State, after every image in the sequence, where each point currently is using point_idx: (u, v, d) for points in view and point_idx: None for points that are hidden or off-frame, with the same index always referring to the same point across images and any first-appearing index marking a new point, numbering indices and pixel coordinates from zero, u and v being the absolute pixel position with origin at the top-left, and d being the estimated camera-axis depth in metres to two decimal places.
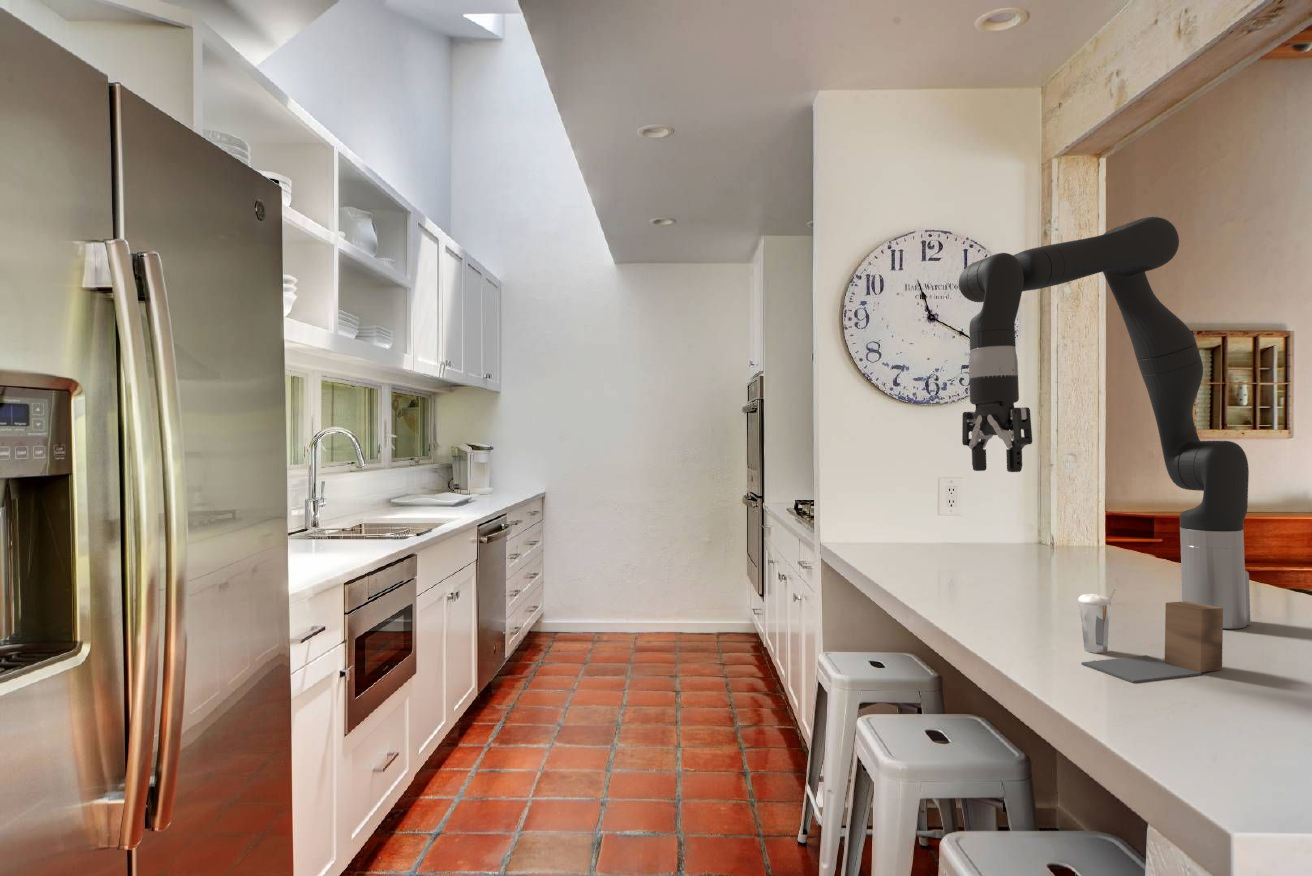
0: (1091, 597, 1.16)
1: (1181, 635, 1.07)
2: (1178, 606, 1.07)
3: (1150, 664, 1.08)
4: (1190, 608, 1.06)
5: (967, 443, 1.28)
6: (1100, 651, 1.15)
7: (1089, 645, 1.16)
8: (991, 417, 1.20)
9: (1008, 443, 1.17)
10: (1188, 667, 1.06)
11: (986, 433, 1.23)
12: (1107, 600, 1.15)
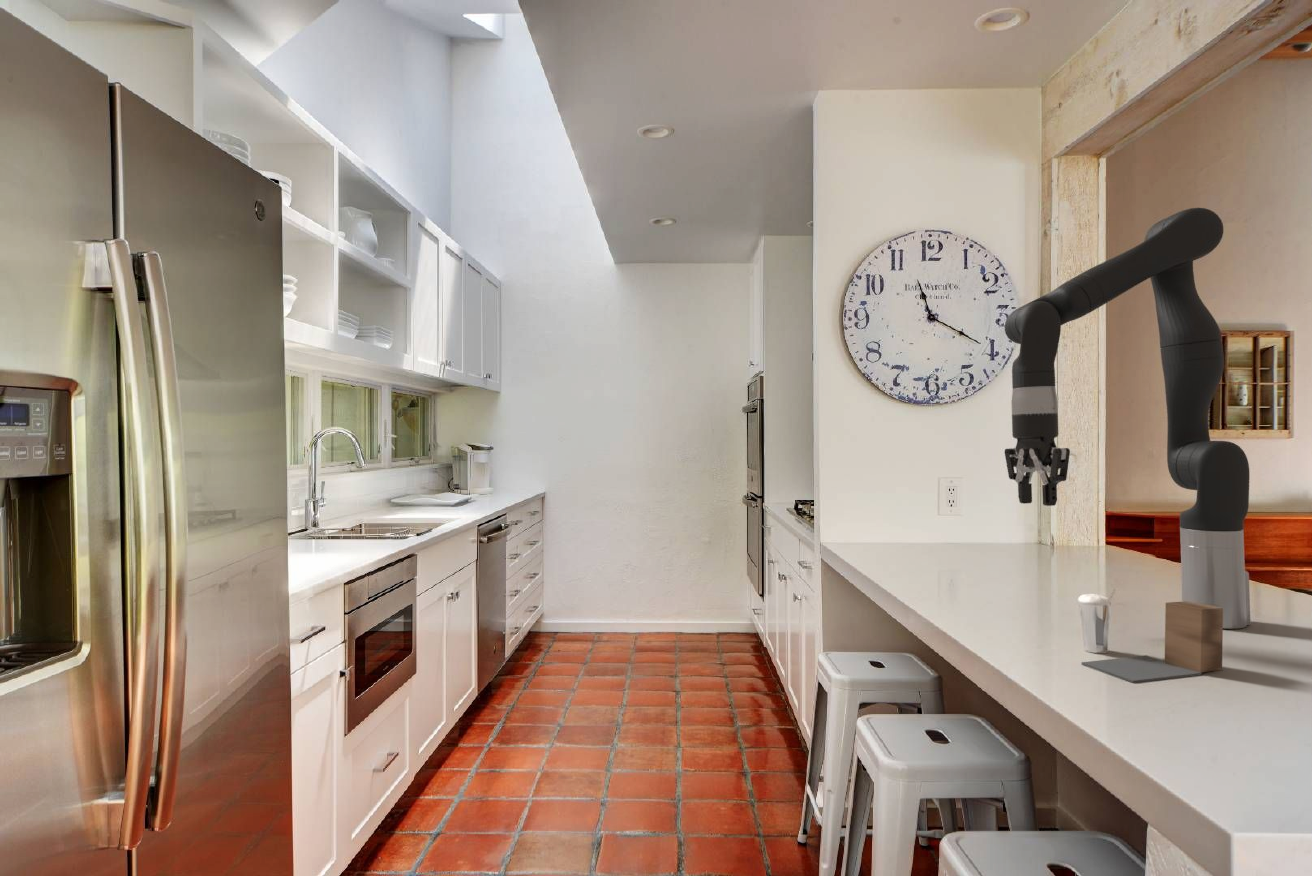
0: (1091, 597, 1.16)
1: (1181, 635, 1.07)
2: (1178, 606, 1.07)
3: (1150, 664, 1.08)
4: (1190, 608, 1.06)
5: (1013, 477, 1.38)
6: (1100, 651, 1.15)
7: (1089, 645, 1.16)
8: (1033, 452, 1.31)
9: (1044, 479, 1.30)
10: (1188, 667, 1.06)
11: (1028, 465, 1.34)
12: (1107, 600, 1.15)
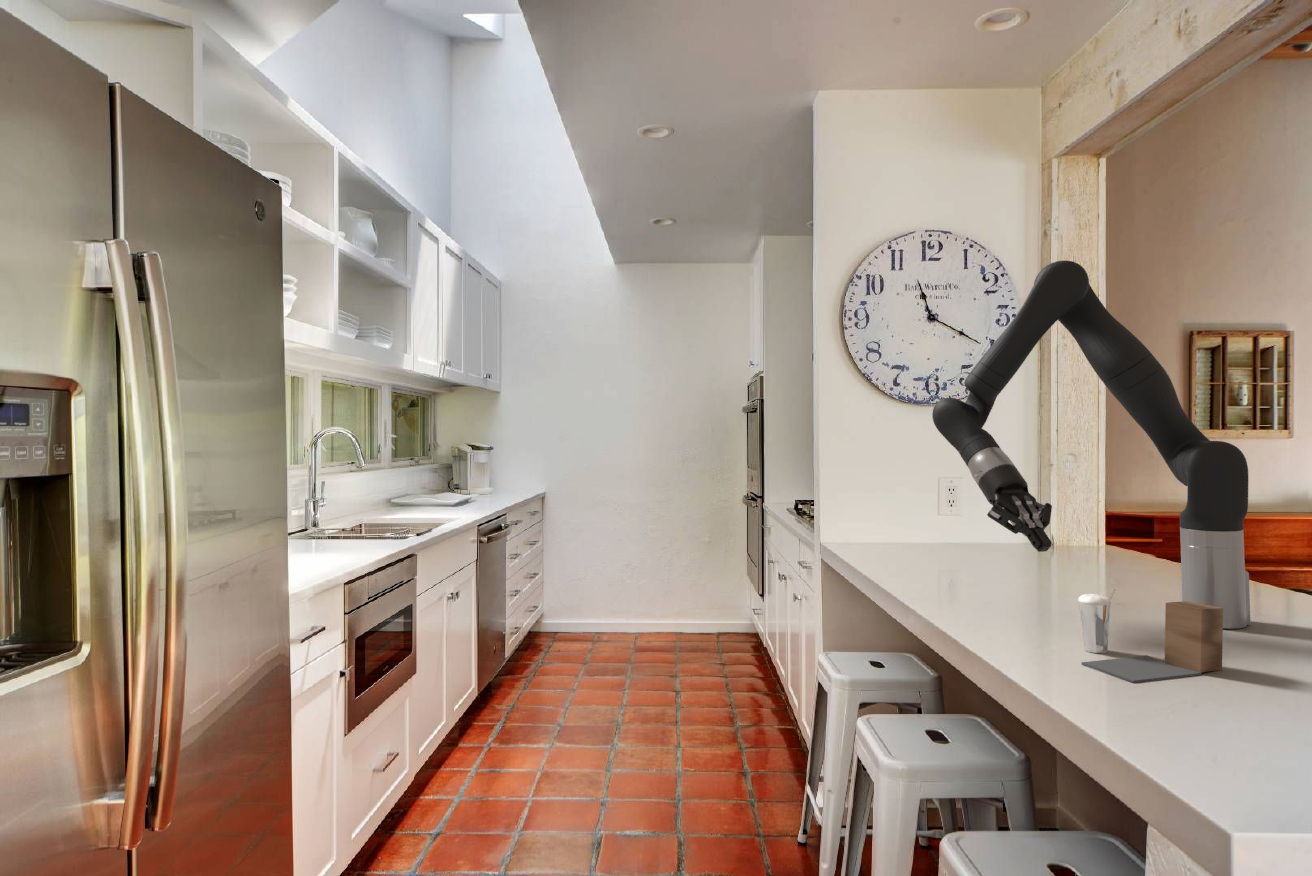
0: (1091, 597, 1.16)
1: (1181, 635, 1.07)
2: (1178, 606, 1.07)
3: (1150, 664, 1.08)
4: (1190, 608, 1.06)
5: None
6: (1100, 651, 1.15)
7: (1089, 645, 1.16)
8: None
9: None
10: (1188, 667, 1.06)
11: None
12: (1107, 600, 1.15)
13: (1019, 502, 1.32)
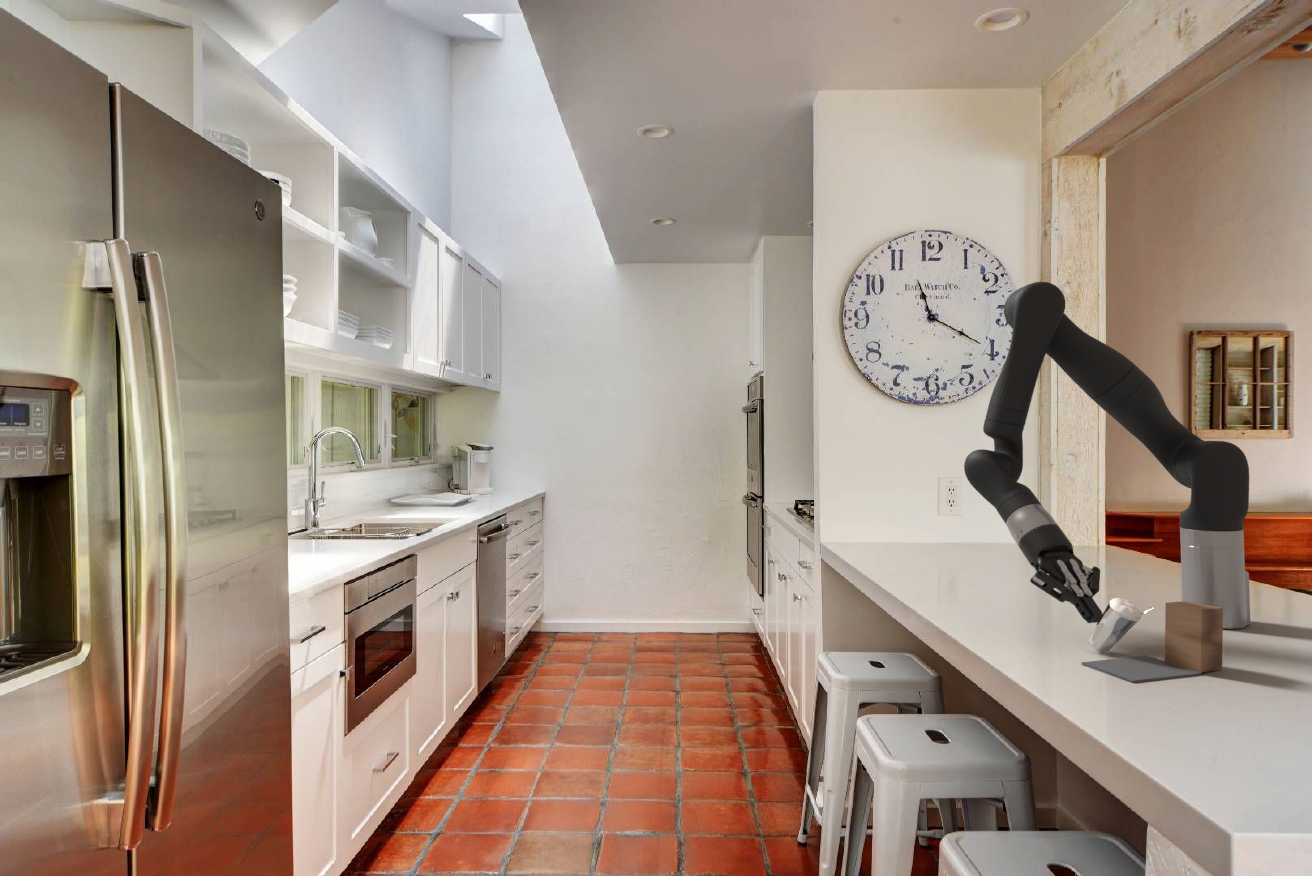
0: (1125, 609, 1.11)
1: (1181, 635, 1.07)
2: (1178, 606, 1.07)
3: (1150, 664, 1.08)
4: (1190, 608, 1.06)
5: None
6: (1102, 651, 1.15)
7: (1094, 642, 1.15)
8: None
9: None
10: (1188, 667, 1.06)
11: None
12: (1138, 616, 1.11)
13: (1065, 567, 1.22)
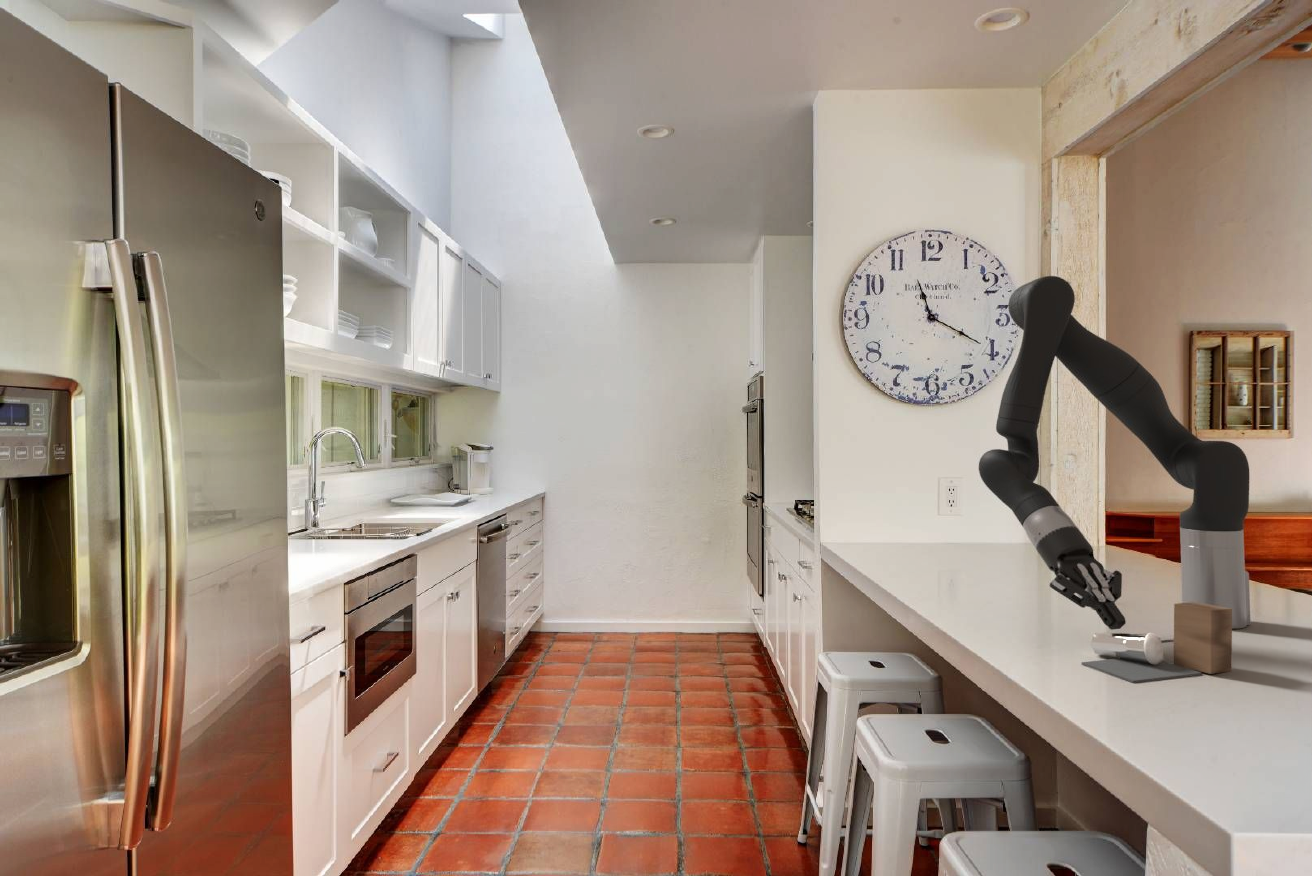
0: (1159, 660, 1.07)
1: (1190, 637, 1.06)
2: (1187, 607, 1.07)
3: (1150, 664, 1.08)
4: (1199, 609, 1.05)
5: None
6: None
7: (1102, 654, 1.13)
8: None
9: None
10: (1198, 668, 1.05)
11: None
12: None
13: (1086, 571, 1.18)
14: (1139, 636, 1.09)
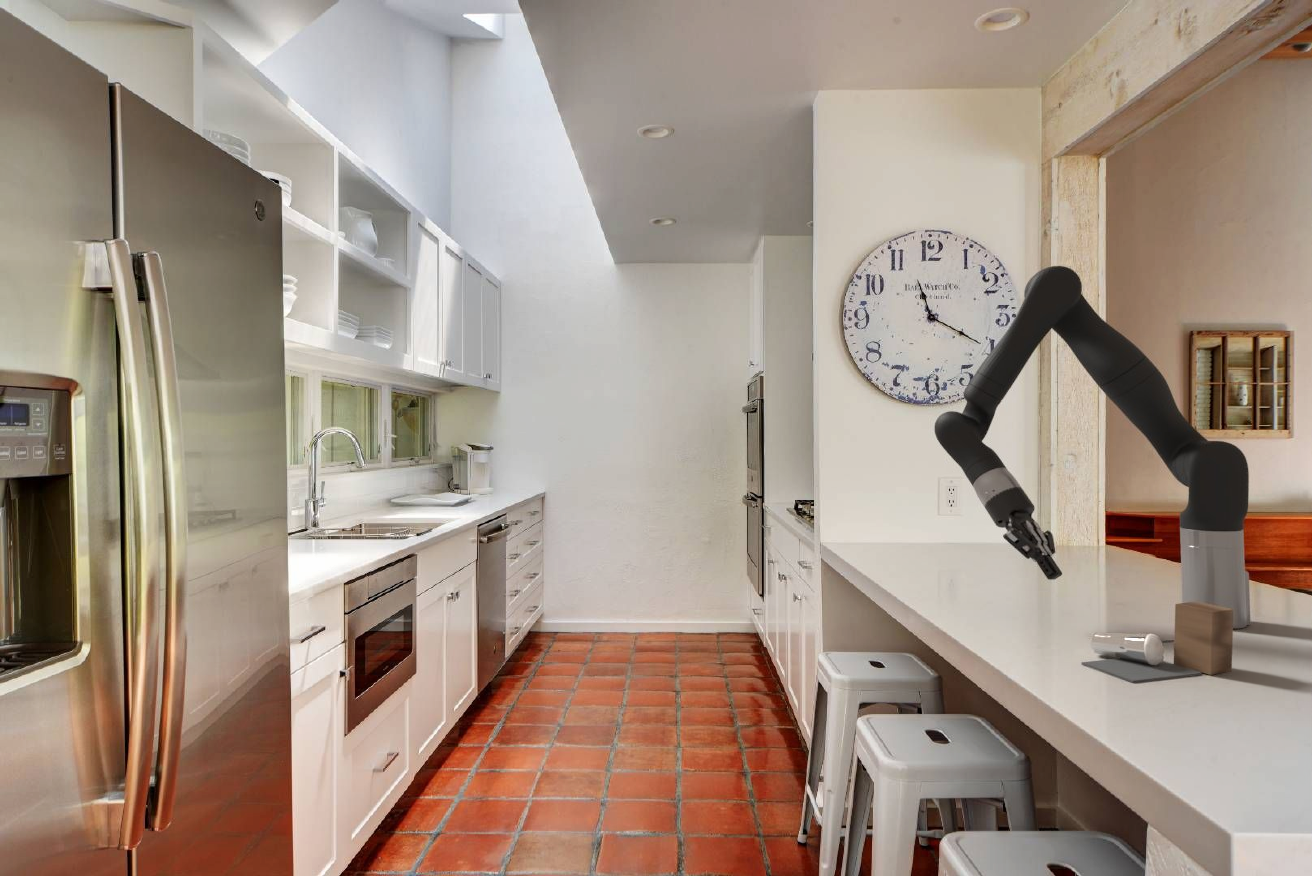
0: (1159, 661, 1.07)
1: (1191, 637, 1.06)
2: (1188, 608, 1.06)
3: None
4: (1200, 610, 1.05)
5: None
6: None
7: (1102, 654, 1.13)
8: None
9: (1032, 558, 1.31)
10: (1198, 669, 1.05)
11: None
12: None
13: (1032, 527, 1.32)
14: (1139, 637, 1.08)
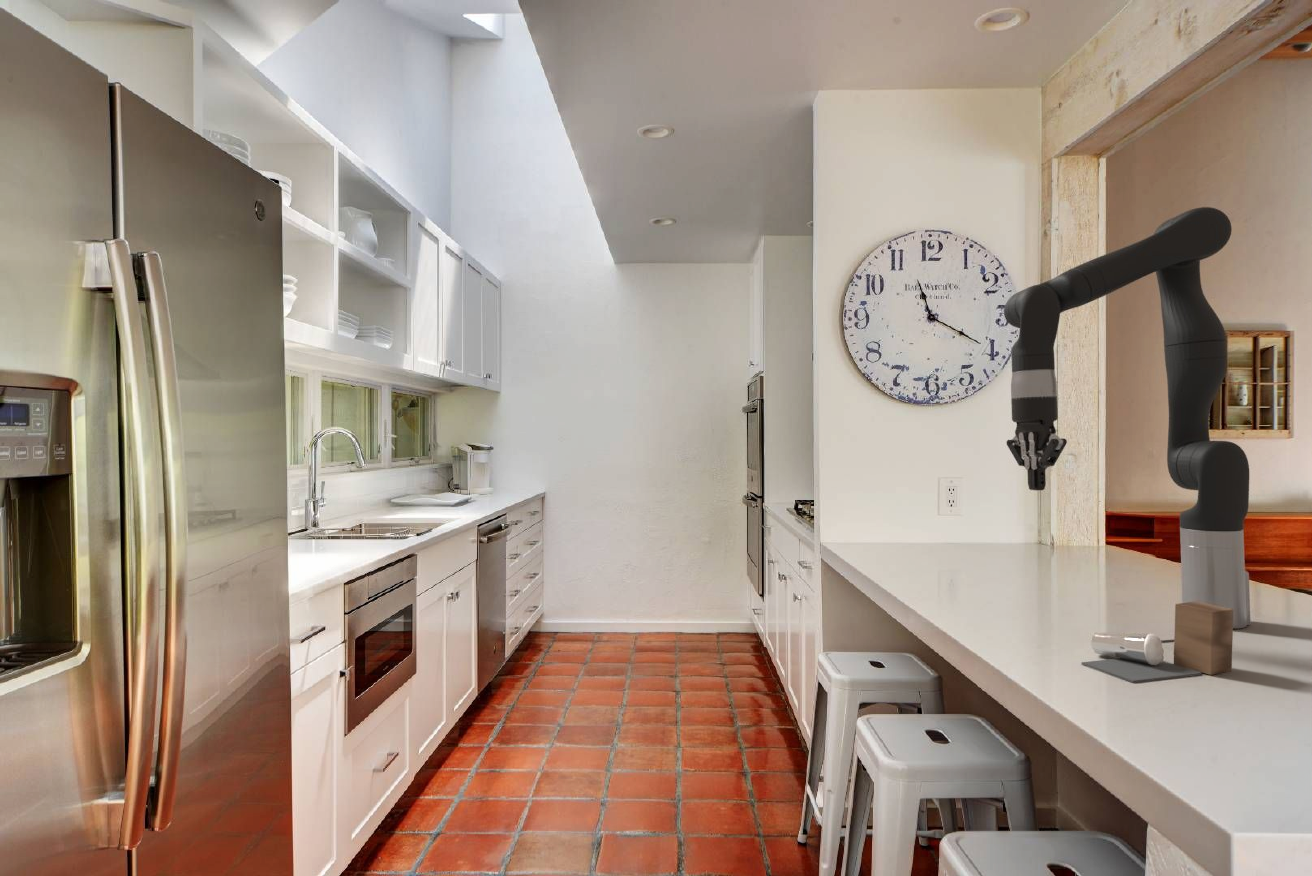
0: (1159, 661, 1.07)
1: (1191, 637, 1.06)
2: (1188, 608, 1.06)
3: None
4: (1200, 610, 1.05)
5: (1023, 463, 1.35)
6: None
7: (1102, 654, 1.13)
8: (1032, 436, 1.31)
9: (1034, 465, 1.32)
10: (1198, 669, 1.05)
11: (1027, 448, 1.34)
12: None
13: None
14: (1139, 637, 1.08)
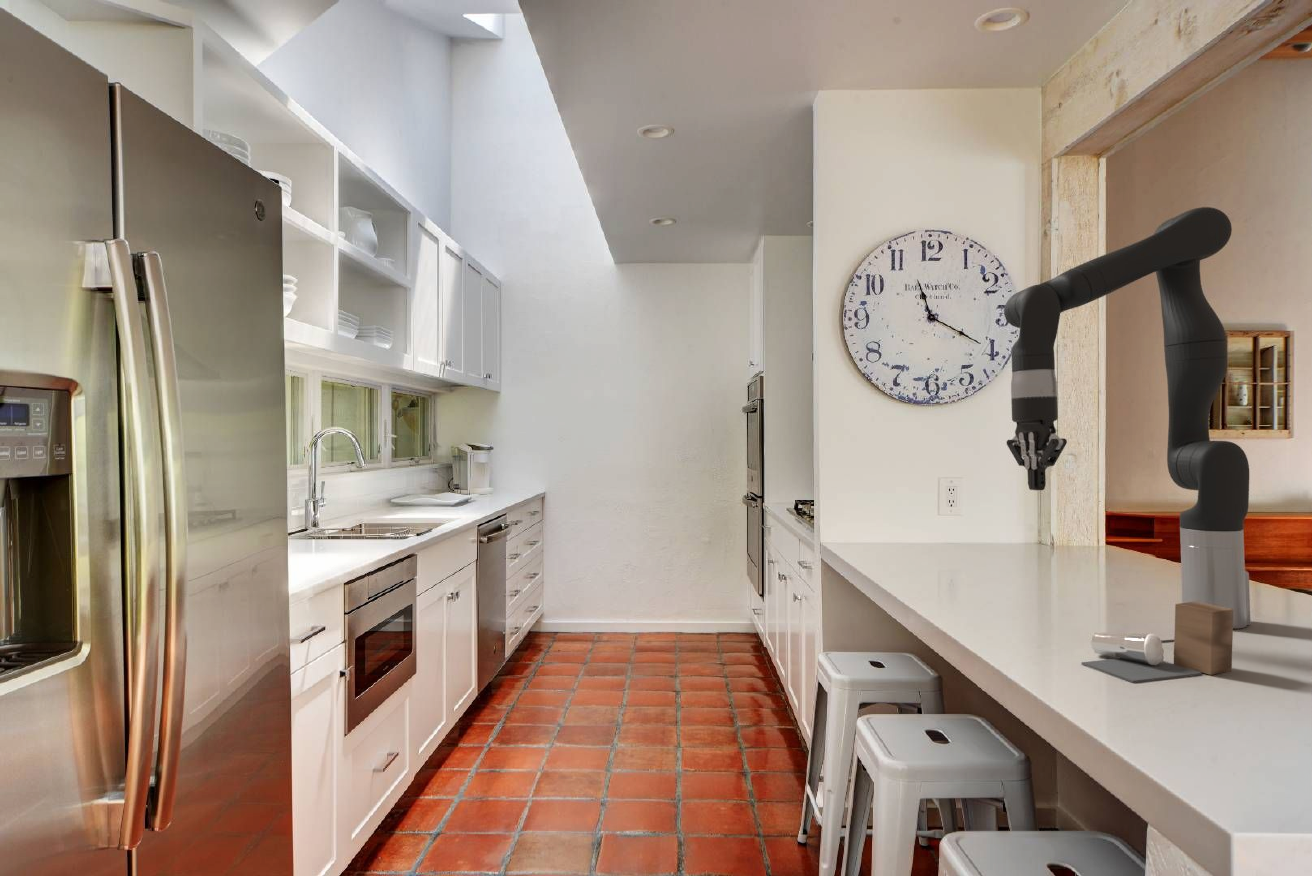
0: (1159, 661, 1.07)
1: (1191, 637, 1.06)
2: (1188, 608, 1.06)
3: None
4: (1200, 610, 1.05)
5: (1023, 463, 1.35)
6: None
7: (1102, 654, 1.13)
8: (1032, 436, 1.31)
9: (1034, 465, 1.32)
10: (1198, 669, 1.05)
11: (1027, 448, 1.34)
12: None
13: None
14: (1139, 637, 1.08)
